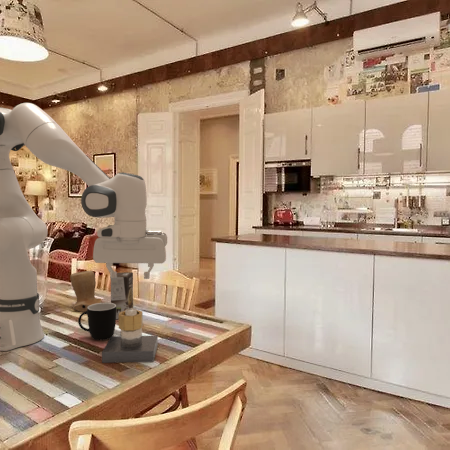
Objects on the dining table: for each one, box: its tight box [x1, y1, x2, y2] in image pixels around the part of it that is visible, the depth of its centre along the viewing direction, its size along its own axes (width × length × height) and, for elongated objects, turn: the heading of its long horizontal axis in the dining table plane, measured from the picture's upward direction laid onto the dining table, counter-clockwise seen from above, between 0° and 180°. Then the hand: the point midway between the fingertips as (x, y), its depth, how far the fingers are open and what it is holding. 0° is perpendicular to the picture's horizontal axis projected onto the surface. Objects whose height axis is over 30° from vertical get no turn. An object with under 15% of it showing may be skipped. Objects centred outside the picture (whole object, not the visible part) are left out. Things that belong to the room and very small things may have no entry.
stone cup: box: [70, 270, 103, 313], centre depth 159 cm, size 15×12×15 cm
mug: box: [77, 302, 117, 341], centre depth 127 cm, size 12×9×10 cm
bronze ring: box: [118, 309, 144, 330], centre depth 113 cm, size 6×6×4 cm
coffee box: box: [110, 272, 134, 320], centre depth 149 cm, size 9×6×16 cm
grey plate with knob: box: [101, 307, 159, 364], centre depth 114 cm, size 14×12×13 cm
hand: (130, 278), depth 112 cm, fingers open, 8 cm apart
